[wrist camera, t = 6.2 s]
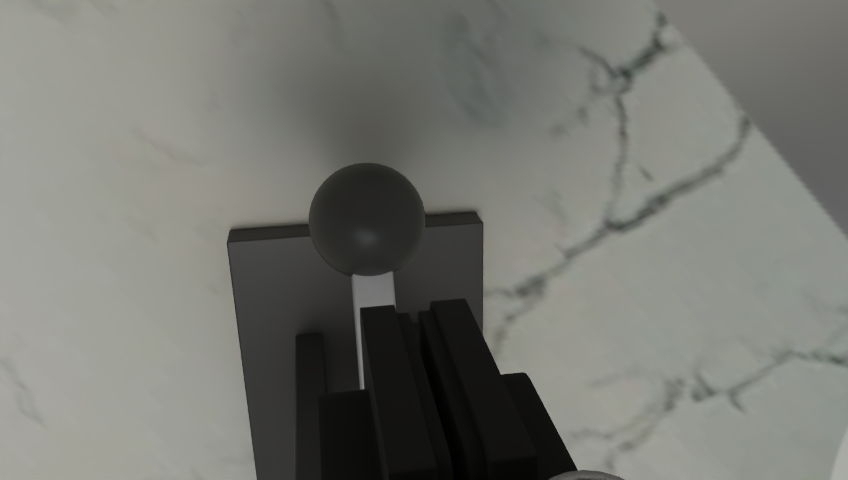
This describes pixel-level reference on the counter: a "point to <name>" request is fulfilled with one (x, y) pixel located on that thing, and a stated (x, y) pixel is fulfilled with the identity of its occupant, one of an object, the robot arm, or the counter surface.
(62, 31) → the counter surface
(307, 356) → the ball-topped lever switch base
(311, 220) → the ball-topped lever switch
